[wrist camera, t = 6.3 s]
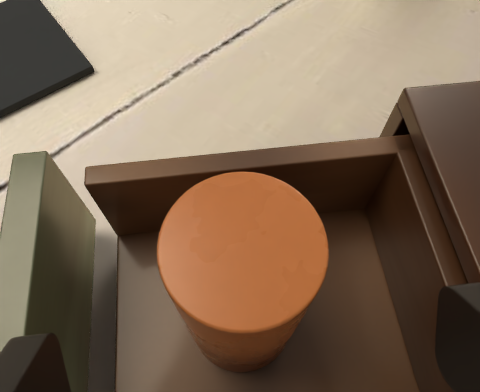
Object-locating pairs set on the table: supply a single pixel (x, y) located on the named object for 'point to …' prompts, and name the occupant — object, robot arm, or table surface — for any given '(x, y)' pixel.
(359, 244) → the drawer
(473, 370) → the robot arm
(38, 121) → the table surface
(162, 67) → the table surface
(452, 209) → the cabinet
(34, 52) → the mat
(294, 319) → the spice tin
